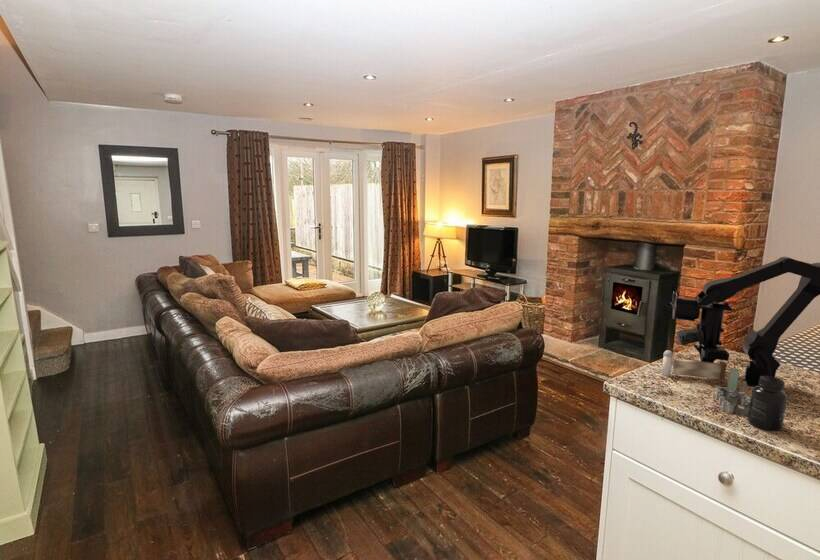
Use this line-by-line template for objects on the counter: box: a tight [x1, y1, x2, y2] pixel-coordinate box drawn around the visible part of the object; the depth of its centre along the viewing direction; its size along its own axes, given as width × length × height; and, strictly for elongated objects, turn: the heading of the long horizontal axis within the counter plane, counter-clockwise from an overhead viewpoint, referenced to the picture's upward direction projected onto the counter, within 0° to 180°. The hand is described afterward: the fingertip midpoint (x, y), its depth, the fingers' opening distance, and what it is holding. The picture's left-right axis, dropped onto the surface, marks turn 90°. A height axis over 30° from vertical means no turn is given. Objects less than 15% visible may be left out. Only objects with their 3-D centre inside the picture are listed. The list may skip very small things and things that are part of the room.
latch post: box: [727, 367, 740, 390], centre depth 134 cm, size 2×4×5 cm, turn 147°
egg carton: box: [715, 384, 751, 417], centre depth 123 cm, size 11×8×4 cm
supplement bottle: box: [747, 376, 788, 432], centre depth 112 cm, size 7×7×12 cm
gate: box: [671, 358, 728, 381], centre depth 141 cm, size 14×2×5 cm, turn 74°
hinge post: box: [661, 349, 674, 377], centre depth 143 cm, size 3×3×8 cm
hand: (704, 370), depth 143 cm, fingers closed
